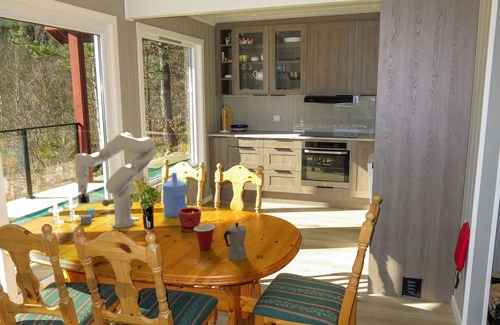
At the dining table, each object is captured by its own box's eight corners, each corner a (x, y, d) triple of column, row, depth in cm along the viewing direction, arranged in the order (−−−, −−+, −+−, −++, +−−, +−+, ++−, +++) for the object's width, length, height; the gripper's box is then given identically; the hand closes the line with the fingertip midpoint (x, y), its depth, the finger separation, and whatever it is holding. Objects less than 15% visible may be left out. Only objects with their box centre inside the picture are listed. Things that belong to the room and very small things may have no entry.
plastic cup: (205, 243, 225) (204, 222, 223) (219, 247, 219) (219, 226, 216) (190, 249, 217) (189, 227, 215) (204, 254, 210) (204, 231, 208)
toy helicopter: (133, 206, 294) (132, 188, 292) (105, 213, 280) (104, 193, 278) (128, 204, 300) (127, 186, 298) (100, 210, 286) (99, 191, 284)
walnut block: (89, 201, 260) (88, 193, 259) (89, 203, 256) (88, 195, 255) (79, 201, 258) (78, 194, 257) (78, 203, 254) (78, 196, 253)
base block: (91, 221, 263) (91, 214, 262) (91, 224, 259) (90, 216, 258) (81, 222, 261) (81, 215, 260) (81, 225, 257) (80, 217, 256)
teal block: (94, 214, 278) (94, 207, 277) (94, 217, 272) (94, 209, 271) (87, 215, 276) (87, 208, 276) (87, 217, 271) (86, 210, 270)
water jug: (159, 216, 272) (157, 175, 266) (170, 209, 286) (169, 170, 281) (181, 218, 267) (179, 176, 262) (191, 211, 282) (190, 171, 277)
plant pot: (197, 233, 240) (196, 214, 237) (176, 232, 242) (175, 212, 240) (204, 226, 252) (203, 207, 250) (184, 225, 255) (183, 206, 253)
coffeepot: (239, 250, 214) (239, 217, 211) (253, 255, 208) (253, 221, 205) (218, 260, 203) (217, 225, 200) (231, 265, 197) (230, 229, 194)
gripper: (76, 171, 261) (79, 199, 264) (74, 176, 245) (76, 206, 248) (89, 170, 263) (91, 198, 266) (88, 175, 247) (90, 205, 250)
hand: (84, 201), depth 257 cm, fingers closed on walnut block, 4 cm apart
